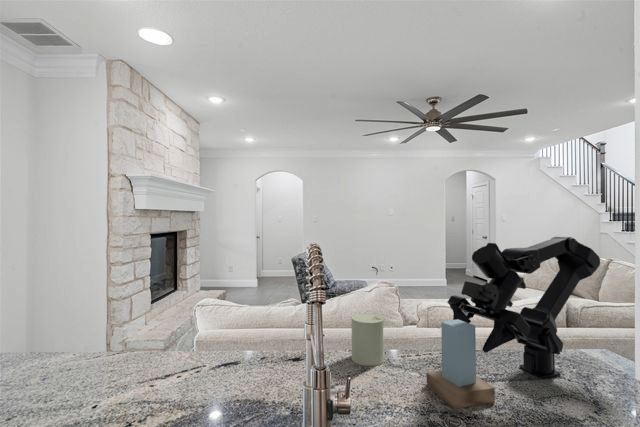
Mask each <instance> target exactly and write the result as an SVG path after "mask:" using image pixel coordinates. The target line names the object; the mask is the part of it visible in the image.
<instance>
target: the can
mask: <svg viewBox="0 0 640 427" xmlns="http://www.w3.org/2000/svg"><path fill="white" fill-rule="evenodd" d="M350 320H351V361H352V362H353V363H355V364H357V365H360V366H365V367H375V366H379V365H382V364H383V363H384V362H385V353H384V352H385V351H384V321H385V320H384V317H383V316H381V315H378V314H376V313H367V312H366V313H365V312H364V313H357V314H353V315H351V318H350Z"/></svg>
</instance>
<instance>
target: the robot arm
mask: <svg viewBox="0 0 640 427" xmlns="http://www.w3.org/2000/svg"><path fill="white" fill-rule="evenodd" d="M471 255H472V256H471V260H472V262H473V263H474V264H475V265H476V267H477V268H478V269H479V270H480V272H481V273H482V274H483V275H484V276H485V277H486V278H488V279H490V281H489V282H485V283H484V284H480V283H476V282H471V281H467V280H465V281H464V283H463V286H462V289H461V292H460V294H461V295H463V296H467V297H469V298H470V301H471V303H472V304H474V305H472V304H471V303H470V302H469V300H467V298H466V297H462V296H459V295H451V296H450V297H449V298H448V300H447V304H448V305H449V307H450V308H451V310H452V313H453V316H452V317H453V318H452V320H457V319H458V320H461V321H464V322H467V323H469V324H471V322H472V320H471V319H472V318H474V316H475V315H476V316H478V317H481V318H483V319H487V320H491V321H493V328H492V330H491V332H490V333H489V335H488V337H487V339H486V340H485V342H484V345H483V346H482V352H484V353H485V354H486V353H489V352H491V351H492V350H494V349H496V348H498V347H500V346H502V345H504V344H507V343H508V342H511V341H513V340H516V342H517V344H520V345H523V353H522V354H523V356H522V358H523V359H522V360H523V364H519V368H521V369H522V370H524V371H526V372H528V373H531V374H532V375H534V376H536V377H538V378H539V379H544V378H545V379H546V378H552V377H557V376H561V372H559V371H557V370H555V369H556V368H555V367H556V366H555V364H556V363H555V355H560V353H562V352H563V347H564V342H563V341H562V340H561V338H560V337H559V336H558V334H557V332H558V327H557V323H556V320H557V318H558V316H559V314H560V313H561V311H562V310H563V308H564V306H565V304H566V303H567V302H568V300H569V298H571V297H570V296H572V293H573V292H574V290H575V289H576V287H577V285H578V284H579V282H580V281H582V280H585V279H587V278H589V277H591V276H592V275H594V273H595V272H596V271H597V269H599V267H600V266H601V258H600V256H599V255H598V254H597V253H596V252H595V251H594V250H593V249H592V248H591V247H589V246H586V244H585V245H584V244H582V243H580V242H579V241H577V240H576V238H574V237H571V236H554V237H551V238H550V239H548V240H545V241H542V242H539V243H536V244H533V245H530V246H528V247H527V246H526V247H510V248H508V247H507V248H505V249H503V251H501V249H500V248H499V246H498V244H497V243H495V242H487V244H486V245H483V246H481V247H479V248H478V249H477V250H475V251H473V253H472V254H471ZM554 258H555V259H556V260H557V265H558V269H559V270H558V271H557V273H556V275H555V276H554V277H553V279H552V281H551V282H550V284H549V285H548V287H547V289H546V290H545V291H544V293H543V294H542V296H541V298H540V299H539V301H538V302H537V303H536V305H535V306H534V307H533V308H531V307H526V306H524V307H523V308H521V309H520V310H521V311H520V312H517V311H513V310H509V309H507V307H509V308H511V307H513V305H514V302H512V301H511V300H512V299H513V297H514V295H515V293H516V292H517V290H518V289H523V290H526V289H527V286H526V283H525V281H524V277H523V276H520V275H519V274H518V273H521V274H522V273H523V274H527V275H528V274H529V275H531V274H533V273H534V272H536V271H538V270H539V269H540V268H541V264H542V263H543V262H546V261H549V260H551V259H554Z"/></svg>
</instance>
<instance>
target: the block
mask: <svg viewBox="0 0 640 427" xmlns="http://www.w3.org/2000/svg"><path fill="white" fill-rule="evenodd" d="M440 326H441V327H440V328H441V330H440V331H441V333H440V334H441V370H442V377H443V378H445V379H447V380H448V381H450V382H452V383H453V384H455V385H456V386H458V387H461V386H465V385H469V384H473V383H476V376H477V358H476V356H477V354H476V353H477V352H476V351H477V348H476V339H477V338H476V325H474V324H472V323H467V322H464V321H461V320H458V319H457V320H453V319H452V320H445V321H441V325H440Z"/></svg>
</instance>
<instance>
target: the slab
mask: <svg viewBox="0 0 640 427" xmlns="http://www.w3.org/2000/svg"><path fill="white" fill-rule="evenodd" d="M426 386H427V387H429V388H430V389H431V390H432V391H433V392H434V393H435V394H436V395H437V396H438V397H440V398H441V399H442V400H443V401H445V402H446V403H447V405H449V406H450V407H452V408H453V409H460V408H468V407H473V406H480V405H486V404H491V403H492V404H493V403H495V402H496V396H495V395H496V393H495V390H496V389H495V387H494V386H492V385H490V383H488V382H486V381H485V380H483V379H481V378H480V377H479V376H477V375H476V383H473V384H469V385H465V386H461V387H458V386H456V385H455V384H453V383H452V382H450V381H448V380H447V379H445V378H443V377H442V369H440V370H433V371H426Z"/></svg>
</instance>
